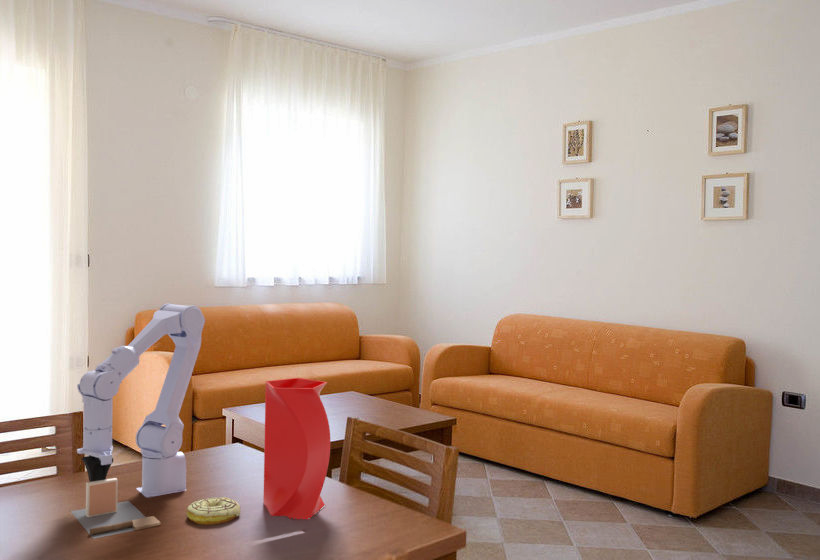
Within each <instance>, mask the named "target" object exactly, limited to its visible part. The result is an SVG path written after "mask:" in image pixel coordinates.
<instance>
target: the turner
mask: <svg viewBox="0 0 820 560" xmlns="http://www.w3.org/2000/svg"><path fill="white" fill-rule="evenodd" d="M152 526H154V527H158V526H161V521H160V520H158V519H157V518H156V517H155V516H154V515H152V516H147V517H146V516H145V518H141V519H136V520H131V521H126V522H121V523H116V524H111V525H107V526H102V527H97V528H92V529H90V530H89V533H90V534H89V533H88V534H89V536H90V535H94V534H99V533H104V532H108V531H113V530H118V529H122V528H127V527H133V528H134V529H135V530H134V531H138V530H143V528H144V529H147V528H148V527H149V528H153V527H152ZM149 528H148V529H149Z"/></svg>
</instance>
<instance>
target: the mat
mask: <svg viewBox="0 0 820 560" xmlns="http://www.w3.org/2000/svg"><path fill="white" fill-rule="evenodd" d="M70 513H71V514H72V515H73V516H74V517H75V519H76V520H77V521H78V523H80V525H81V526H82V528H84V530H85V531H86V532H87V534H88V535H89V536H90V537H91V538H92V539H93V540H94V539H99V538H104V537H105V538H106V537H109V536H113V535H119V534H124V533H129V532H133V531H136V530H135V529H134V528H133V527H127V528H122V529H118V530H113V531H108V532H104V533H99V534H94V535H90V533H89V530H90V529H92V528H97V527H102V526H107V525H111V524H116V523H121V522H126V521H131V520H136V519H141V518H145V517H146V516H145V515H144V514H143V513H142V512H141V511H140V510H139V509H138V508H137V507H136V506H135V505H133V504H132V503H131V502H130V501H129V500H127V501H121V502H120V501H119V502H117V512H113V513H108V514H103V515H97V516H92V517H87V516H86V508H82V509H80V508H79V509H76V510H70ZM153 527H155V526H152V527H151V528H153ZM149 528H150V527H148V529H149ZM143 529H144V530H145V528H143ZM143 529H142V530H143Z"/></svg>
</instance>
